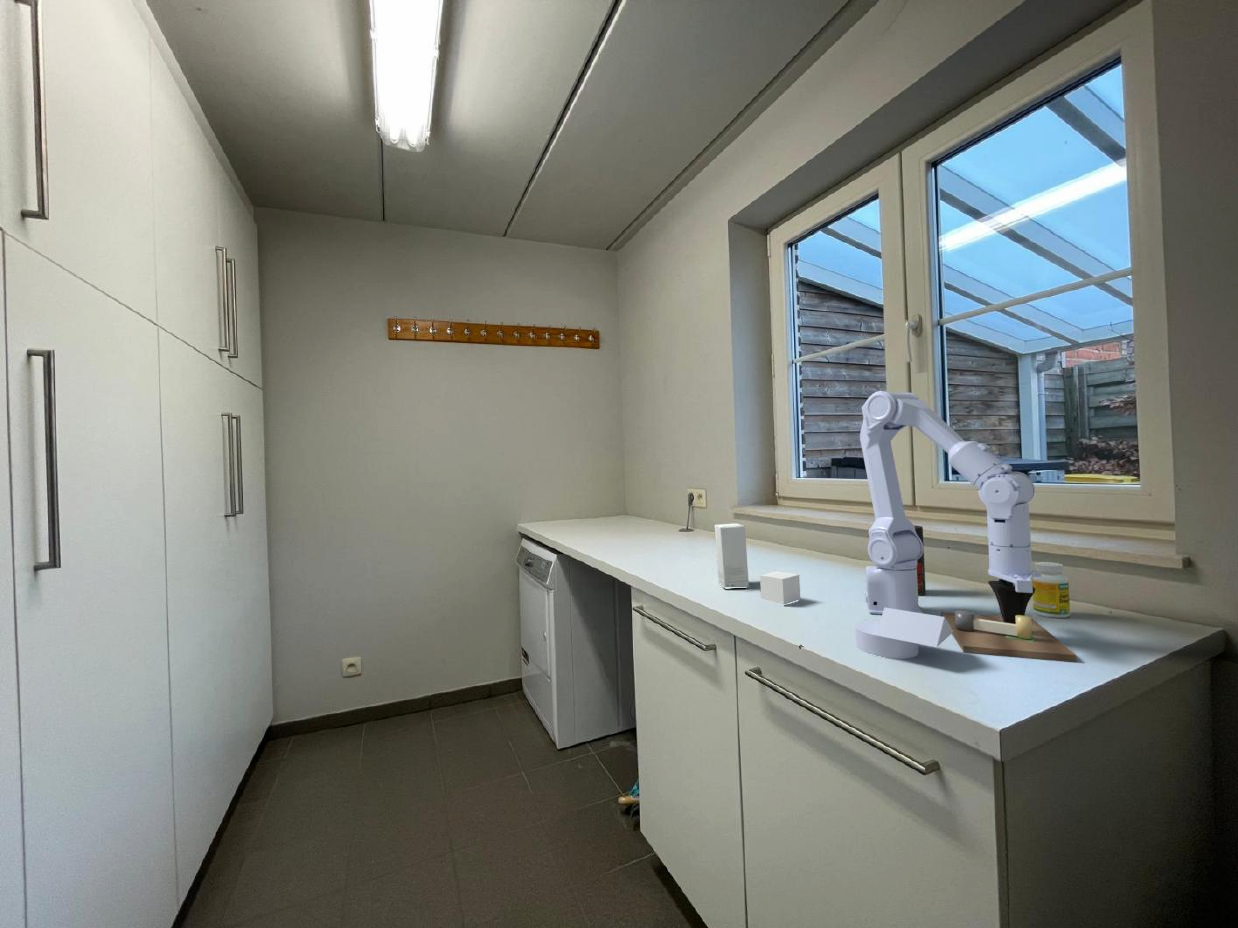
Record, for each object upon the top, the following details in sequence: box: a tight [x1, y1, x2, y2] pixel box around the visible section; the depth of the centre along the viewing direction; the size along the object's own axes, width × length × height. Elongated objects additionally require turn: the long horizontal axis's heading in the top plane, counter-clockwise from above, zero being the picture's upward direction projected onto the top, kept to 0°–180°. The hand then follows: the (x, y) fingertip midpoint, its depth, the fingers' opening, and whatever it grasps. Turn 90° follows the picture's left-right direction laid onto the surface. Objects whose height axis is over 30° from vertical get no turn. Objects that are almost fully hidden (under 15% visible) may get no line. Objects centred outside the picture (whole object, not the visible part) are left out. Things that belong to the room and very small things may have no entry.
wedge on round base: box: [855, 608, 954, 660], centre depth 82 cm, size 9×7×13 cm
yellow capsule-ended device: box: [954, 610, 1032, 639], centre depth 86 cm, size 10×3×3 cm, turn 46°
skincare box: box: [714, 523, 750, 588], centre depth 131 cm, size 8×7×16 cm
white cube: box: [759, 570, 801, 605], centre depth 115 cm, size 6×6×6 cm
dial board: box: [940, 611, 1078, 663], centre depth 87 cm, size 14×19×1 cm
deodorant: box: [913, 524, 927, 597], centre depth 117 cm, size 6×6×15 cm
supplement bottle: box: [1032, 561, 1071, 619], centre depth 97 cm, size 5×5×10 cm
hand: (1012, 625), depth 86 cm, fingers closed
